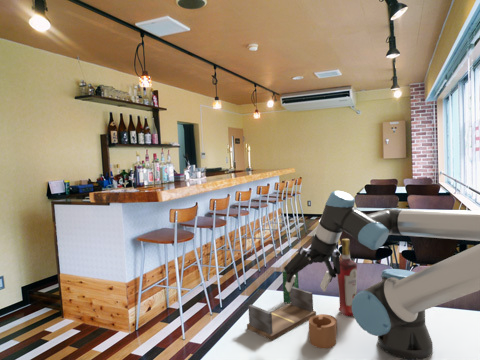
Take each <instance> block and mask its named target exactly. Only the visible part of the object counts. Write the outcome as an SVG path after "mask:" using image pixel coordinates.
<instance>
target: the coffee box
mask: <svg viewBox="0 0 480 360" xmlns="http://www.w3.org/2000/svg"><path fill="white" fill-rule="evenodd" d="M295 276H296V278H295V280H294V283H293V285H292V287H295V288H298V289H300V287H299V272H298V273H296V274H295ZM286 277H287V274H286V272H285V270H284V269H283V270H282V288H283V289H282V293H283V303H285V304H290V292H288V291H287V289H286V287H285V285H286V282H287V281H286Z"/></svg>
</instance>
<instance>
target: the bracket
mask: <svg viewBox="0 0 480 360" xmlns="http://www.w3.org/2000/svg"><path fill="white" fill-rule="evenodd" d="M337 321H338V320H337V318H336V317H335V316H333V315H330V314H326V313H325V314H321V313H320V314H316V316H313V317H311V318H310V319H309V320H308V331H309V332H308V335H309V336H308V337H309V343H310V344H311V345H312V346H313V347H315V348H319V349H331V348H333V347H334V346H336V344H337V333H338V323H337Z"/></svg>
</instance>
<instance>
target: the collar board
mask: <svg viewBox="0 0 480 360" xmlns="http://www.w3.org/2000/svg"><path fill="white" fill-rule="evenodd" d="M247 308H248V323H247V324H246V328H247V329H248V330H249V331H251V332H253V333H256V335H257V334H258V335H260V336H262V337H264V338H266V339H268V340H270V341H274V340H275V339H277V338H279V337H281V336H282V335H284V334H286V333H288V332H290V331H291V330H293V329H294V328H297V327H298V326H300V325H302V324H304V323H305V322H307V321H309V319H310V318H311V317H313V316H316V315H317V311H315V310H314V296H313V292H312V291H308V290H304V289H302V288H299V289H298V288H295V287H292V288H291V291H290V303H287V304H285V305H284V306H282V307H279V308H278V309H276V310H273V311H271V312H270V311H268V310H265V309H263V308H261V307H258V306H256V305H253V304H249V305H248V307H247Z"/></svg>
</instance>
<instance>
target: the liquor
mask: <svg viewBox="0 0 480 360" xmlns="http://www.w3.org/2000/svg"><path fill="white" fill-rule="evenodd" d="M341 247H342V253H341V254H342V257H341V260H340V259H339V262H340V274H339V275H338V274H336V277H337V286H338V287H337V288H338V298H339V302H338V303H339V308H338V311H339V313H340V314H342V315H343V316H345V317H354V315H353V312H352V300H353V298H354V296H355V295H356V294H357V285H358V282H357V281H358V279H357V278H358V263H356V262H355V260H354V261H353V260H351V252H350V239H349V238H342V239H341Z"/></svg>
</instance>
